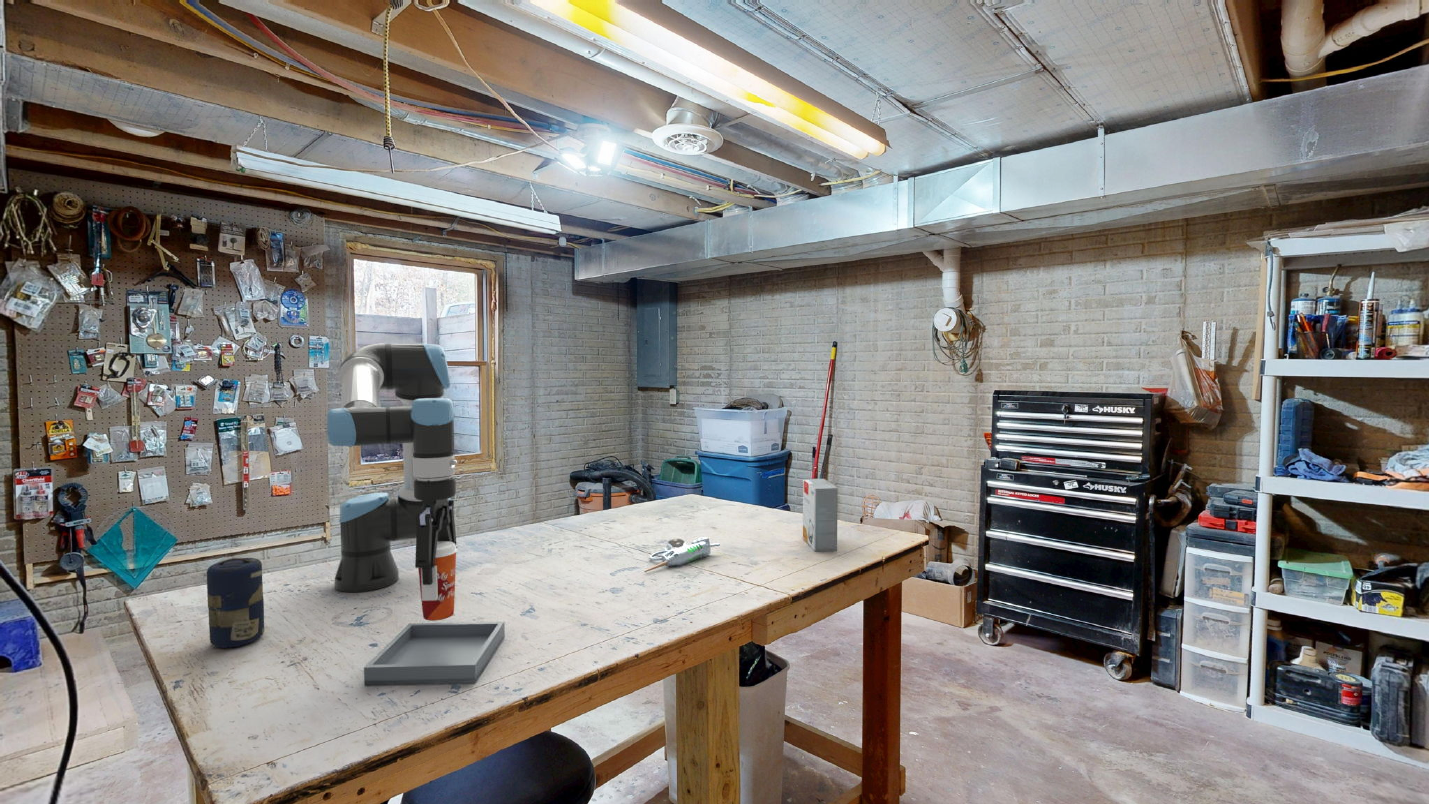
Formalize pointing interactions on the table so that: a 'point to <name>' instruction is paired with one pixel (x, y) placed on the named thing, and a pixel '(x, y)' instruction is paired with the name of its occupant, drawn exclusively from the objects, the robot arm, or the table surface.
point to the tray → (436, 654)
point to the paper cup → (442, 583)
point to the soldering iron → (682, 552)
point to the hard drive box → (820, 514)
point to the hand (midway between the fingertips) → (438, 591)
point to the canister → (235, 602)
